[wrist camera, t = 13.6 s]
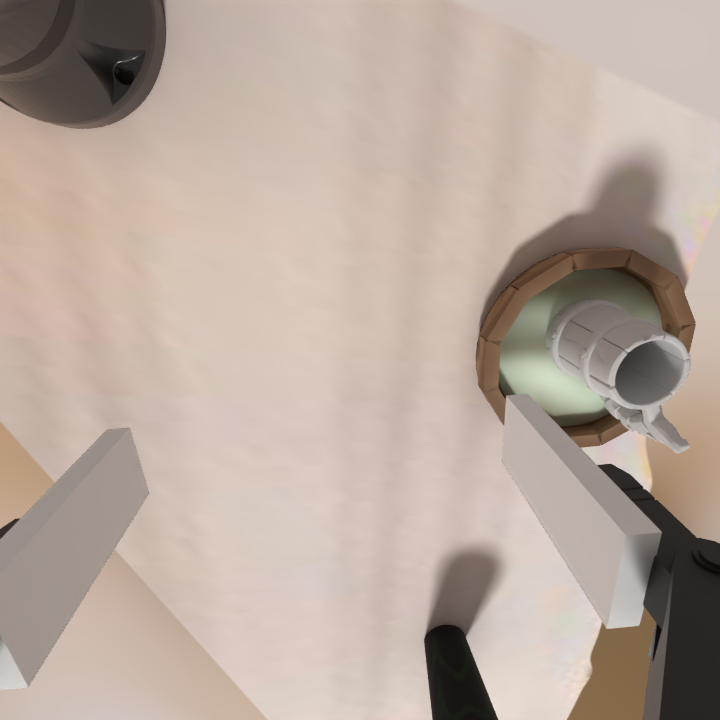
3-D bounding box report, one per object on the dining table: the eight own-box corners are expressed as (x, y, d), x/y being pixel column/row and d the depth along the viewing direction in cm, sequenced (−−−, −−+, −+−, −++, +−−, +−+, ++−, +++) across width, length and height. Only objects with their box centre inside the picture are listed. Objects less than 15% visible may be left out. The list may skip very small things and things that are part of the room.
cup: (417, 621, 56) (437, 726, 45) (474, 617, 57) (508, 720, 46) (415, 660, 59) (434, 768, 48) (470, 656, 60) (501, 763, 48)
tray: (479, 256, 40) (489, 260, 37) (689, 240, 40) (713, 243, 38) (473, 441, 47) (481, 456, 44) (650, 426, 47) (669, 439, 45)
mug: (610, 281, 40) (717, 315, 29) (634, 384, 44) (736, 449, 33) (532, 316, 41) (607, 361, 30) (564, 414, 45) (640, 487, 34)
